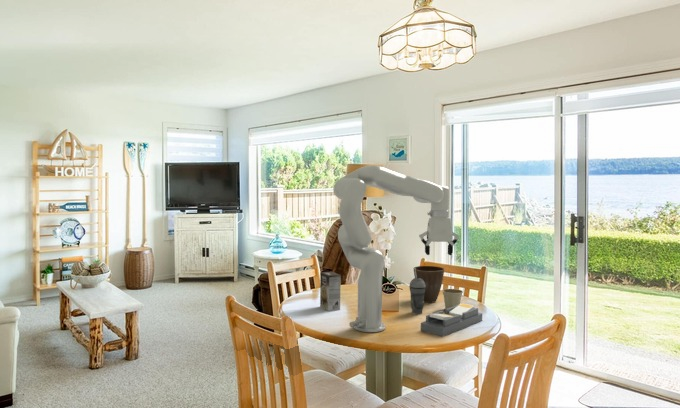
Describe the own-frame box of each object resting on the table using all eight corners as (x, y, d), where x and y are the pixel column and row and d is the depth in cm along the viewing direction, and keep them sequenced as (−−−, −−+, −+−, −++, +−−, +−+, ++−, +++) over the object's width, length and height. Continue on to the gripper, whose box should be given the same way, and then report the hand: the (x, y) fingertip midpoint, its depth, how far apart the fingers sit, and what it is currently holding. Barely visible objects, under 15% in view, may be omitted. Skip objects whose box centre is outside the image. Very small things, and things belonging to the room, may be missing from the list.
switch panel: (443, 336, 170) (443, 322, 170) (420, 330, 177) (421, 316, 177) (482, 320, 192) (482, 307, 191) (461, 315, 199) (461, 303, 198)
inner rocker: (443, 319, 174) (443, 316, 174) (429, 316, 178) (430, 313, 178) (456, 320, 181) (456, 316, 181) (443, 316, 185) (443, 313, 185)
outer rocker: (462, 317, 184) (462, 314, 184) (449, 314, 188) (449, 311, 188) (474, 308, 191) (474, 305, 190) (461, 305, 195) (461, 303, 195)
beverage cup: (425, 315, 199) (425, 269, 198) (408, 314, 200) (409, 269, 199) (425, 310, 206) (426, 266, 205) (409, 309, 207) (409, 266, 206)
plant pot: (430, 306, 214) (430, 272, 214) (406, 299, 226) (407, 267, 225) (450, 301, 224) (450, 268, 223) (426, 295, 235) (427, 264, 235)
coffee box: (319, 306, 212) (319, 272, 211) (331, 305, 215) (332, 271, 214) (328, 311, 204) (328, 275, 203) (340, 309, 207) (341, 274, 206)
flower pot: (439, 306, 213) (440, 288, 213) (460, 307, 213) (460, 288, 213) (443, 312, 204) (444, 293, 204) (465, 312, 204) (465, 293, 203)
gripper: (422, 215, 190) (421, 255, 191) (462, 215, 192) (461, 256, 193) (417, 214, 198) (416, 253, 198) (456, 214, 200) (455, 253, 200)
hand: (438, 254), depth 195 cm, fingers open, 9 cm apart
